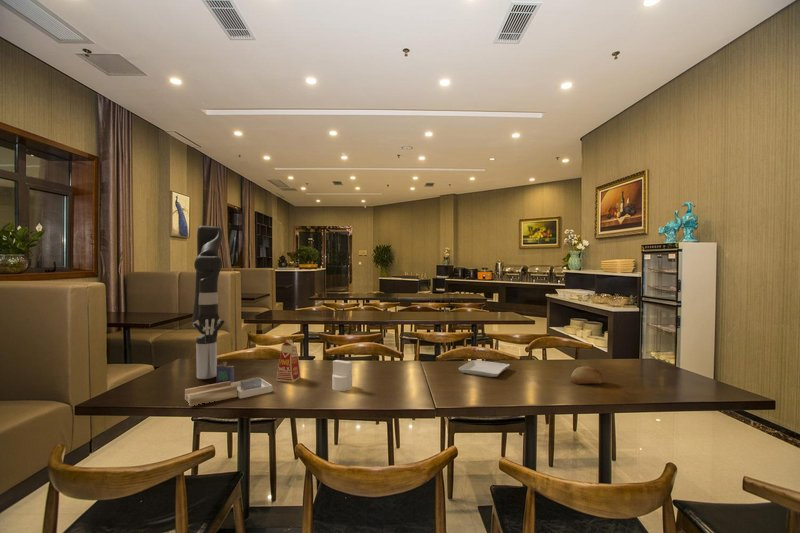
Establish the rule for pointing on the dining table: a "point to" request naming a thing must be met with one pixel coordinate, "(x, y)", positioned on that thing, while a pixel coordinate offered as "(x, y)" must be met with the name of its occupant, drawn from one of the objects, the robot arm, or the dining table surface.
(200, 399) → the channel
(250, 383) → the grey cube
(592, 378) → the bread roll
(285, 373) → the milk carton
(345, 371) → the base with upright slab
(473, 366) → the salad plate
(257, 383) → the blue-grey cube
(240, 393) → the tray
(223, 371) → the flask
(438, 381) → the dining table surface
